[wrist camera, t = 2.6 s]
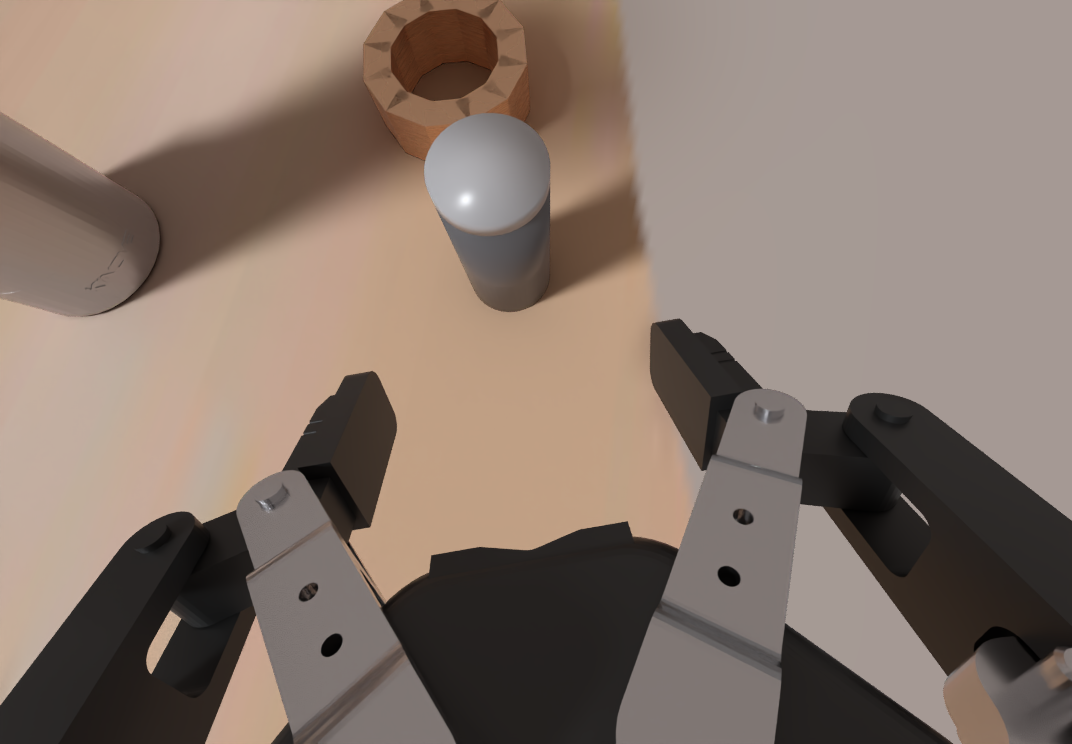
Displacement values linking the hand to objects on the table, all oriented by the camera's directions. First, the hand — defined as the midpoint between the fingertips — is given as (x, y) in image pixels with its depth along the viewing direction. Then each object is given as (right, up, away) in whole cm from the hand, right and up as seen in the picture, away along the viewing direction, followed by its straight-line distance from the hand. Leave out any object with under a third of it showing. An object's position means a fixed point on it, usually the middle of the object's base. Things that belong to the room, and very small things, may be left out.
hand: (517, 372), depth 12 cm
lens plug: (-1, +6, +14) cm, 15 cm away
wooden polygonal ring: (-5, +19, +16) cm, 25 cm away
